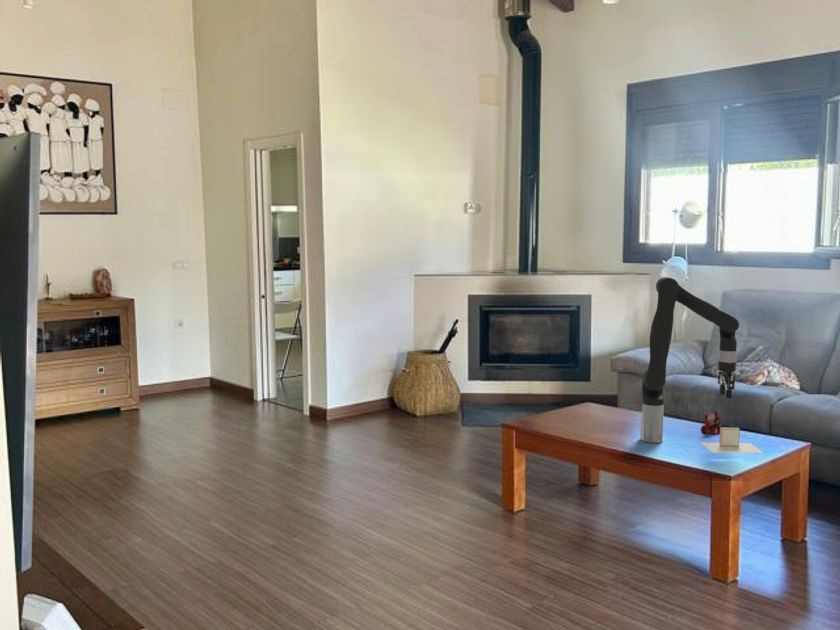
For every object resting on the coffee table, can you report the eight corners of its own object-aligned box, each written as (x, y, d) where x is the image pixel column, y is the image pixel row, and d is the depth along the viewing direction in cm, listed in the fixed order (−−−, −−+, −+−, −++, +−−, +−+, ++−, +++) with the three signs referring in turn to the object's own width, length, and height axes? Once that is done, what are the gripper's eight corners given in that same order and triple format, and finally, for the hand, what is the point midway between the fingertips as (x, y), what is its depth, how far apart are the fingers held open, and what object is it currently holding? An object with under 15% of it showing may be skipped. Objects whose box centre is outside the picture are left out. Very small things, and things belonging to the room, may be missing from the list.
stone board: (712, 454, 337) (712, 452, 337) (700, 444, 353) (700, 442, 353) (764, 455, 336) (764, 453, 336) (749, 445, 352) (750, 443, 352)
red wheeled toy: (726, 433, 374) (727, 411, 373) (711, 437, 366) (712, 415, 365) (712, 430, 379) (713, 409, 378) (698, 434, 371) (699, 412, 370)
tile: (720, 446, 347) (721, 428, 346) (719, 445, 349) (720, 427, 348) (739, 446, 347) (739, 428, 346) (737, 445, 348) (738, 427, 348)
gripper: (713, 357, 358) (711, 393, 360) (724, 362, 344) (722, 399, 346) (730, 358, 358) (728, 393, 360) (741, 363, 344) (739, 400, 345)
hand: (725, 396), depth 353 cm, fingers open, 7 cm apart
